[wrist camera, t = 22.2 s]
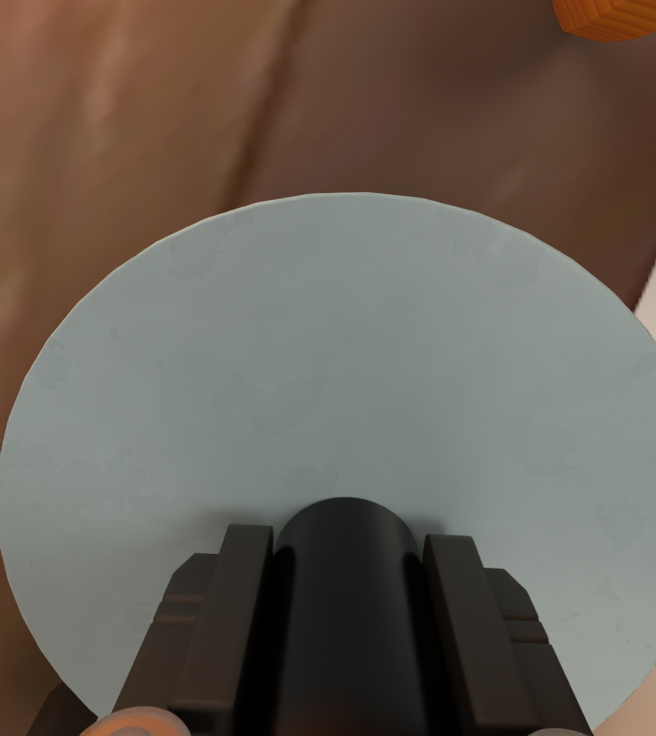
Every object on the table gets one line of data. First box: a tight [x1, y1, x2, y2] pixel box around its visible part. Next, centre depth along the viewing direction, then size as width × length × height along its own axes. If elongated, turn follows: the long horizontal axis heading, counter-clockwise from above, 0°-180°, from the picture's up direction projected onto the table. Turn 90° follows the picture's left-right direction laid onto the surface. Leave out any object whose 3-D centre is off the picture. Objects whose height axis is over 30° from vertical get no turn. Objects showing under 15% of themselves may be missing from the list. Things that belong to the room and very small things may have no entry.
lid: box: [0, 192, 656, 736], centre depth 8 cm, size 13×13×6 cm
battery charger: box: [26, 682, 100, 736], centre depth 30 cm, size 7×4×11 cm, turn 153°
